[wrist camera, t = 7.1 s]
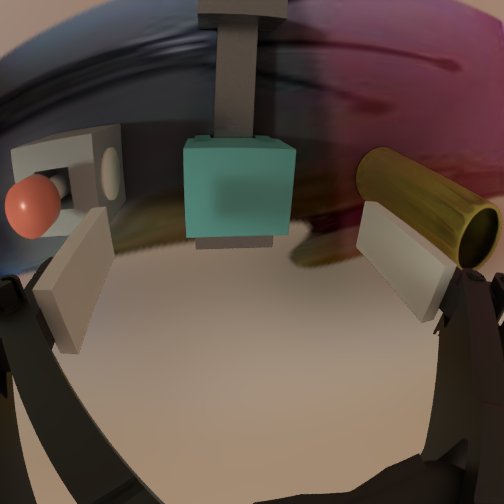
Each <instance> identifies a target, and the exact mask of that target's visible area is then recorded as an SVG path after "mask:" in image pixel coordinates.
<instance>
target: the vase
mask: <svg viewBox="0 0 504 504" xmlns="http://www.w3.org/2000/svg"><path fill="white" fill-rule="evenodd" d="M356 185H357V188H358V191H359V193H360V195H361V197H362V198H363V199H364V200H365V201H373V202H378V203H379V204H381V205H382V206H383V207H385V208H386V209H387V210H389V211H390V212H392V213H393V214H394V215H396V216H397V217H398V218H400V219H401V220H402V221H404V222H405V223H406V224H408V225H409V226H410V227H411V228H413V229H414V230H415V231H417V232H418V233H419V234H420V235H422V236H423V237H424V238H425V239H427V240H428V241H429V242H430V243H432V244H433V245H434V246H435V247H436V248H438V249H439V250H440V251H441V252H442V253H444V254H445V255H446V256H447V257H448V258H450V259H451V260H452V261H453V262H454V263H455V264H456V265H457V267H458V268H460V269H461V270H462V269H464V268H470V269H473V270H476V271H477V270H478V269H480V268H481V267H482V266H483V265H484V264H485V263H486V262H487V261H488V259H489V258H490V257H491V255H492V253H493V252H494V250H495V248H496V246H497V243H498V241H499V237H500V234H501V229H502V216H501V213H500V210H499V208H498V207H497V206H496V205H494V204H493V203H491V202H489V201H488V200H486V199H484V198H482V197H480V196H479V195H477V194H475V193H473V192H471V191H470V190H468V189H466V188H464V187H463V186H461V185H459V184H457V183H455V182H453V181H451V180H449V179H447V178H445V177H443V176H442V175H440V174H438V173H436V172H434V171H432V170H430V169H428V168H426V167H424V166H422V165H420V164H418V163H417V162H415V161H413V160H411V159H409V158H407V157H405V156H402V155H401V154H399V153H398V152H396V151H395V150H393V149H390V148H387V147H380V148H376V149H374V150H372V151H370V152H369V153H367V154H366V155H365V156H364V158H363V159H362V160H361V162H360V164H359V166H358V169H357V173H356Z"/></svg>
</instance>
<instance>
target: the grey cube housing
mask: <svg viewBox="0 0 504 504" xmlns="http://www.w3.org/2000/svg"><path fill="white" fill-rule="evenodd" d="M11 158H12V165H13V172H14V179H15V184H16V183H18V182H20V181H21V180H23V179H25V178H26V177H28V176H30V175H33V174H40V175H43V176H46V177H47V178H51V177H52V176H54V175H55V174H57V173H64V174H66V175H67V176H68V177H69V179H70V186H71V189H70V191H69V193H68V194H67V195H66V196H64V197H63V198H62V199H61V211H60V215H59V217H58V219H57V220H56V222H55V223H54V224H53V225H52V226H51V227H50V228H49V229H48V230H47V231H46V232H45V233H44V234H43V235H42V236H41V237H49V236H65V235H71V233H72V232H73V231H74V230H75V228H76V227H77V226H78V224H79V223H80V222H81V221H82V219H83V218H84V217H85V216H86V214H87V213H88V212H89V211H90V210H91V208H96V207H106V209H107V216H108V223H109V224H110V223H111V221H112V220H113V218H114V217H115V215H116V214H117V212H118V211H119V209H120V208H121V207H122V205H123V204H124V202H125V201H126V194H125V184H124V173H123V160H122V143H121V124H113V125H105V126H98V127H91V128H84V129H78V130H72V131H67V132H61V133H56V134H52V135H49V136H46V137H43V138H40V139H37V140H34V141H31V142H29V143H26V144H23V145H21V146H18V147H16V148H13V149H11Z"/></svg>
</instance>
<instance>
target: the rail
mask: <svg viewBox="0 0 504 504" xmlns="http://www.w3.org/2000/svg"><path fill="white" fill-rule="evenodd" d="M287 9H288V0H199V2H198V23H199V30H200V29H218V30H217V48H216V70H215V97H214V138H253V118H254V97H255V76H256V56H257V36H258V31H262V32H273V31H274V30H275V29H276V28H277V27H278V26H279V25H280V24H282V23H283V22H284V21H285V20H286V19H287ZM195 241H196V249H223V248H255V247H272V244H273V235H264V236H225V237H195Z"/></svg>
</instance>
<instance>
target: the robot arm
mask: <svg viewBox="0 0 504 504" xmlns="http://www.w3.org/2000/svg"><path fill="white" fill-rule="evenodd" d="M356 247H357V249H358V250H359V251H360V252H361V253H362V254H363V255H364V256H365V257H366V258H367V260H368V261H369V262H370V263H371V264H372V265H373V266H374V267H375V268H376V270H377V271H378V272H379V273H380V274H381V275H382V277H383V278H384V279H385V280H386V281H387V282H388V283H389V284H390V286H391V287H392V288H393V289H394V290H395V292H396V293H397V294H398V295H399V296H400V298H401V299H402V300H403V301H404V302H405V304H406V305H407V306H408V307H409V308H410V310H411V311H412V312H413V313H414V314H415V316H416V317H417V318H418V320H419V321H420V322H421V323H422V322H426V321H430V320H433V319H434V317H435V315H436V313H437V311H438V309H440V310H441V311H442V312H443V314H442V316H441V318H440V320H439V322H438V324H437V326H436V328H435V330H434V333H433V334H436V332H437V331H439V335H438V336H439V350H438V363H437V374H436V383H435V391H434V399H433V406H432V411H431V417H430V423H429V428H428V433H427V438H426V443H425V446H424V449H423V451H422V453H421V455H420V454H416V455H414V456H412V457H410V458H408V459H406V460H403V461H401V462H399V463H397V464H394V465H392V466H389V467H387V468H385V469H384V470H383V471H381V472H380V473H379V474H377V475H376V476H374V477H373V478H371V479H370V480H368V481H367V482H365V483H364V484H362V485H360V486H359V487H357V488H356V489H354V490H352V491H350V492H344V493H329V494H300V495H295V496H291V497H285V498H280V499H274V500H268V501H262V502H255V503H253V504H504V321H503V323H502V325H501V326H499V324H498V322H499V320H500V318H501V316H502V314H503V313H504V274H503V273H496V274H495V276H494V278H493V280H492V282H487V281H486V279H485V277H484V276H483V275H482V274H480V273H479V272H478V271H476V270H473V269H470V268H464V269H462V270H461V269H460V268H458V267H457V265H456V264H455V263H454V262H453V261H452V260H451V259H450V258H448V257H447V256H446V255H445V254H444V253H442V252H441V251H440V250H439V249H438V248H436V247H435V246H434V245H433V244H432V243H430V242H429V241H428V240H427V239H425V238H424V237H423V236H422V235H420V234H419V233H418V232H417V231H415V230H414V229H413V228H411V227H410V226H409V225H408V224H406V223H405V222H404V221H402V220H401V219H400V218H398V217H397V216H396V215H394V214H393V213H392V212H390V211H389V210H387V209H386V208H385V207H383V206H382V205H381V204H379V203H378V202H373V201H365V204H364V209H363V214H362V219H361V224H360V229H359V234H358V238H357V243H356ZM114 258H115V256H114V251H113V246H112V240H111V235H110V229H109V223H108V216H107V209H106V207H96V208H91V210H90V211H89V212H88V213H87V214H86V216H85V217H84V218H83V219H82V221H81V222H80V223H79V224H78V226H77V227H76V228H75V230H74V231H73V232H72V233H71V235H70V236H69V237H68V239H67V240H66V241H65V243H64V244H63V245H62V247H61V248H60V249H59V251H58V252H57V254H56V255H55V256H54V257H50V258H49V259H47V260H46V261H45V262H43V263H42V264H41V265H40V267H39V268H38V270H37V271H36V273H35V274H34V275H33V277H32V279H31V280H30V281H29V283H28V284H27V286H26V287H25V289H23V287H22V284H21V281H20V279H19V277H18V276H17V275H13V274H12V275H6V276H3V277H0V504H37V503H36V500H35V497H34V494H33V491H32V487H31V484H30V480H29V477H28V473H27V469H26V465H25V461H24V457H23V452H22V447H21V442H20V437H19V431H18V425H17V418H16V412H15V403H14V392H13V380H12V375H13V378H14V381H15V384H16V386H17V389H18V392H19V394H20V397H21V400H22V402H23V405H24V407H25V409H26V412H27V414H28V416H29V419H30V421H31V423H32V425H33V428H34V429H35V432H36V434H37V436H38V438H39V440H40V442H41V444H42V446H43V448H44V450H45V452H46V454H47V455H48V457H49V459H50V461H51V463H52V464H53V466H54V468H55V470H56V471H57V473H58V474H59V476H60V478H61V480H62V481H63V483H64V484H65V486H66V487H67V489H68V491H69V492H70V494H71V495H72V496H73V498H74V499H75V501H76V502H77V504H165V503H163V502H162V501H161V500H160V499H159V498H158V497H157V496H156V495H155V494H154V493H153V492H152V491H151V490H150V488H149V487H148V486H147V485H146V484H145V483H144V482H143V481H142V480H141V479H140V478H139V477H138V476H137V474H136V473H135V472H134V471H133V470H132V469H131V468H130V467H129V465H128V464H127V463H126V462H125V461H124V459H123V458H122V457H121V456H120V455H119V453H118V452H117V451H116V450H115V448H114V447H113V446H112V444H111V443H110V442H109V441H108V439H107V438H106V437H105V435H104V434H103V433H102V431H101V430H100V428H99V427H98V426H97V424H96V423H95V421H94V420H93V419H92V417H91V416H90V414H89V413H88V411H87V410H86V408H85V407H84V405H83V404H82V402H81V400H80V399H79V397H78V396H77V394H76V392H75V391H74V389H73V388H72V386H71V384H70V383H69V381H68V379H67V377H66V376H65V374H64V372H63V371H62V369H61V367H60V365H59V363H58V361H57V359H56V357H55V356H54V354H53V352H52V348H53V345H54V342H55V343H56V345H57V347H58V349H59V351H60V353H66V354H79V352H80V349H81V346H82V342H83V339H84V336H85V333H86V330H87V327H88V324H89V322H90V319H91V316H92V313H93V310H94V308H95V305H96V302H97V300H98V297H99V294H100V292H101V289H102V287H103V284H104V282H105V279H106V277H107V274H108V271H109V269H110V267H111V265H112V262H113V260H114Z"/></svg>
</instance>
